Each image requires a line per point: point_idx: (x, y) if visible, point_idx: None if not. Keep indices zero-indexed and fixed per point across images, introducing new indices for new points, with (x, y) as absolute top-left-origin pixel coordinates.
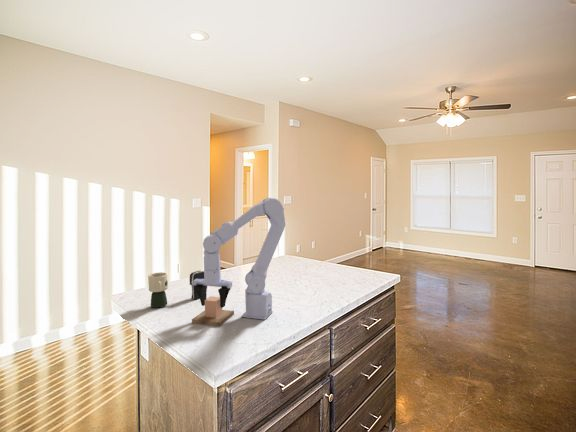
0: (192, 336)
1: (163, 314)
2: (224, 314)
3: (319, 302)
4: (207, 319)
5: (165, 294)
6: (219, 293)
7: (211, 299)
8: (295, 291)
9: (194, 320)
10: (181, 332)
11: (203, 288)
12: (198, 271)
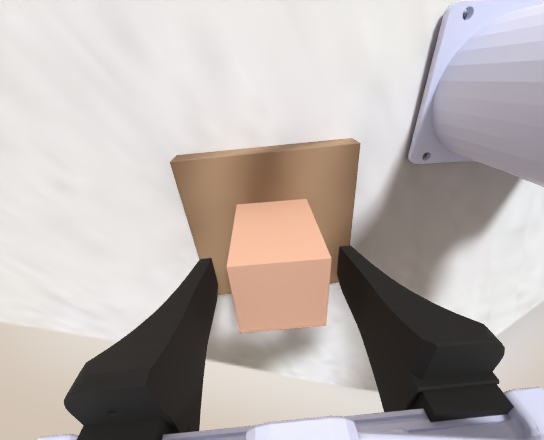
0: (286, 339)
1: (3, 260)
2: (325, 207)
3: None
4: None
5: None
6: (381, 388)
7: (276, 312)
8: None
9: (224, 292)
10: (235, 335)
11: (184, 397)
12: None
